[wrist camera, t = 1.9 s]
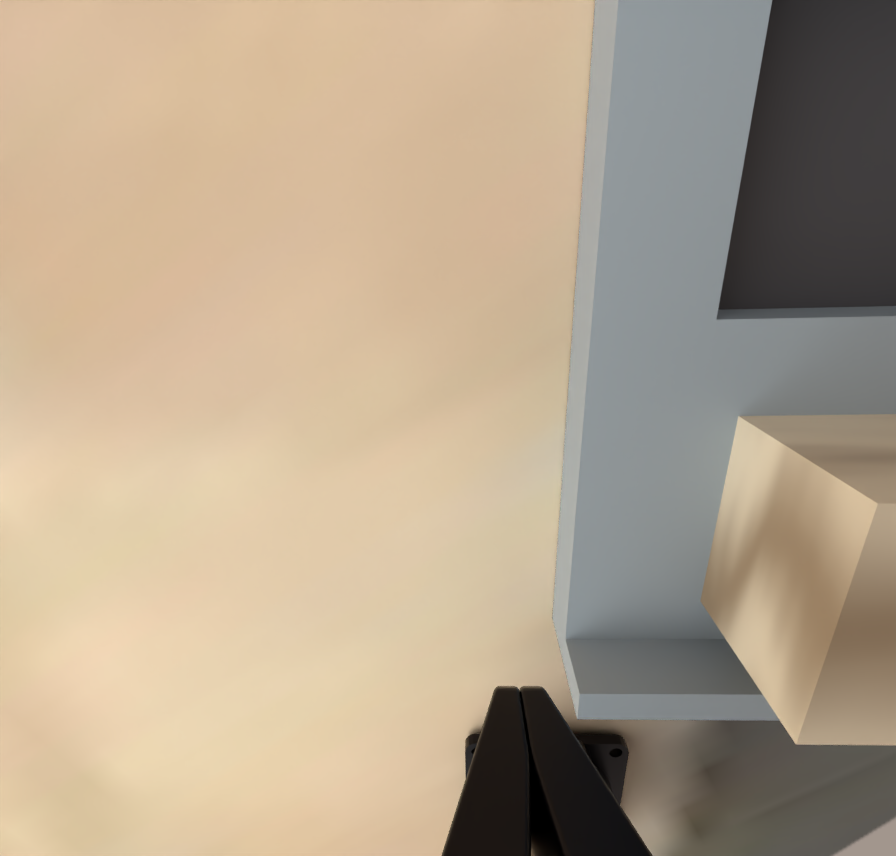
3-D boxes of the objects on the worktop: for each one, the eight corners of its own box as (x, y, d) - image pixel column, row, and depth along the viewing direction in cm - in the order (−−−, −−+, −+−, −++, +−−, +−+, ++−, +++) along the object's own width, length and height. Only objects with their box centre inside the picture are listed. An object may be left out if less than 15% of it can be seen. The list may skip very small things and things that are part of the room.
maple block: (902, 600, 15) (1081, 746, 10) (700, 601, 15) (796, 744, 10) (976, 412, 12) (1241, 500, 8) (738, 416, 13) (877, 503, 8)
